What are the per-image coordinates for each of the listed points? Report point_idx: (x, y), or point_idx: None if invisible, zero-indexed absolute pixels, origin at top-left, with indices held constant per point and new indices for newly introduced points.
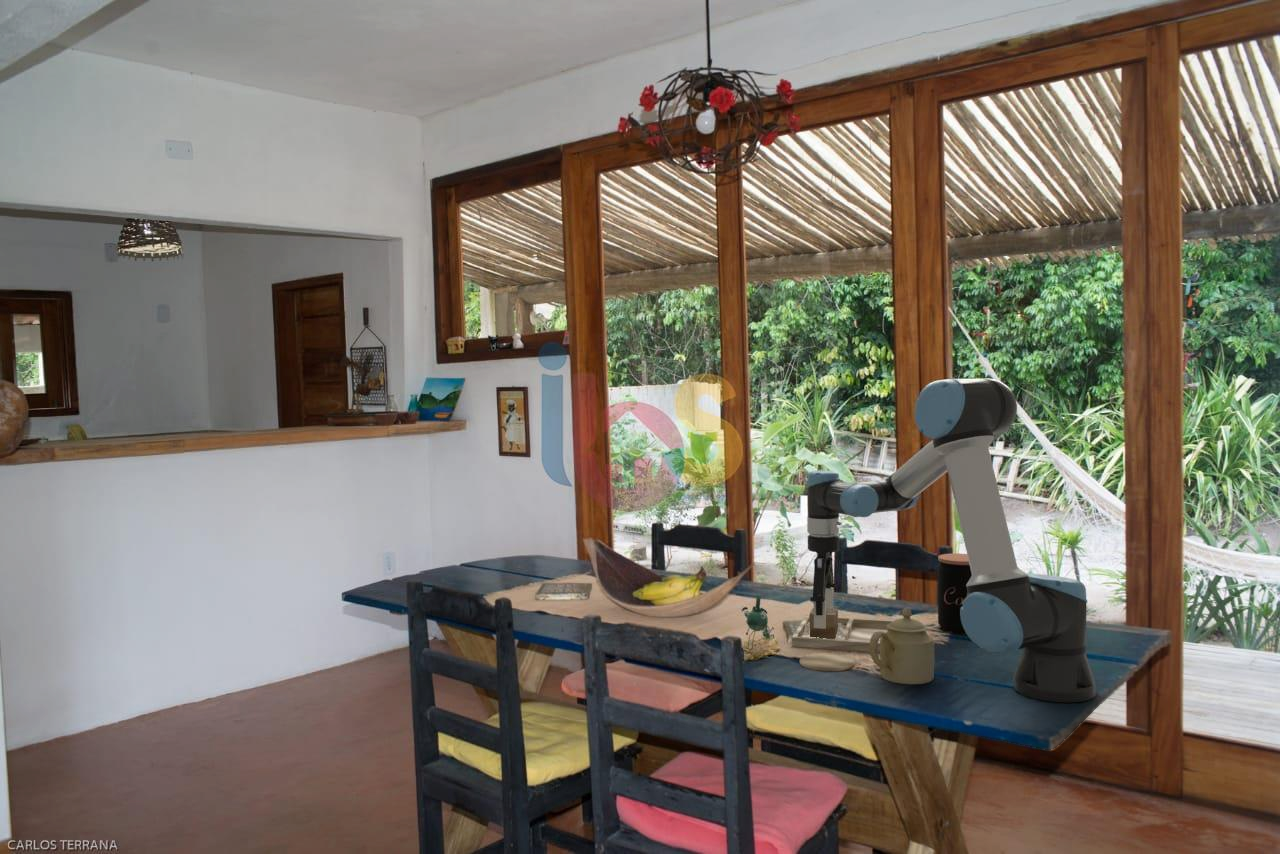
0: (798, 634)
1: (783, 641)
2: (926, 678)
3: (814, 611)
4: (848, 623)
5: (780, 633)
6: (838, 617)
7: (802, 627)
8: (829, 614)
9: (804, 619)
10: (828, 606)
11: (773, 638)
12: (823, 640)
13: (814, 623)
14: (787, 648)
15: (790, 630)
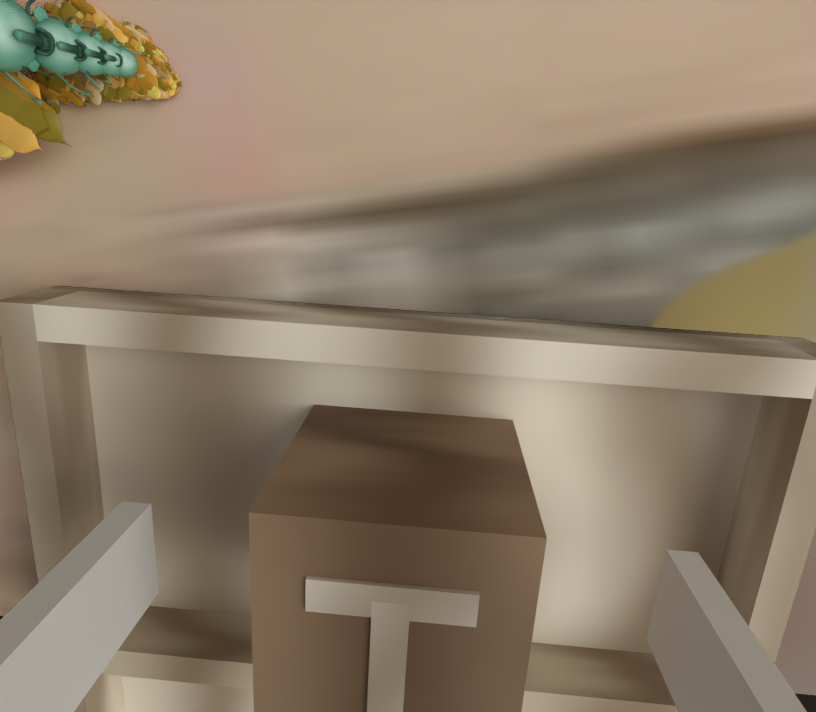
0: (130, 346)
1: (223, 196)
2: None
3: (9, 620)
4: (562, 702)
5: (475, 136)
6: (768, 636)
7: (359, 364)
8: (256, 696)
9: (674, 360)
10: (686, 673)
11: (7, 122)
12: (37, 540)
13: (95, 531)
14: (38, 252)
15: (593, 216)
